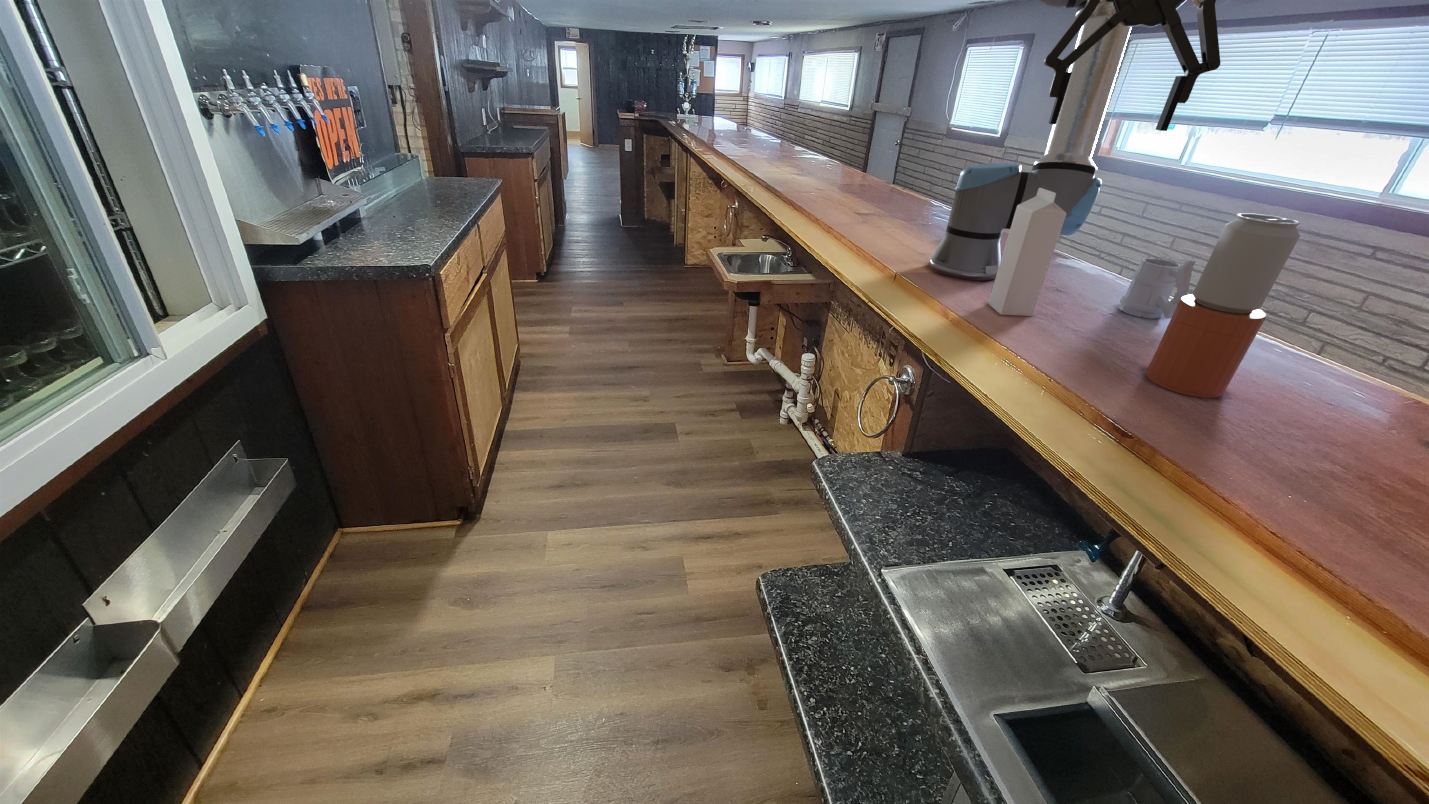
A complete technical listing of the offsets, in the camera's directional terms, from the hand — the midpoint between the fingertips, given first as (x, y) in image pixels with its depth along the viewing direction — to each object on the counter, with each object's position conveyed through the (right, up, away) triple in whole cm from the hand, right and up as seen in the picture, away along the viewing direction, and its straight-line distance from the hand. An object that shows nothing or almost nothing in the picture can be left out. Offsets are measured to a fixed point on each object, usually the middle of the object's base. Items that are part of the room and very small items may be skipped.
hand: (1104, 127), depth 80 cm
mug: (+28, -23, +29) cm, 46 cm away
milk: (+1, -22, +29) cm, 36 cm away
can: (+15, -26, -2) cm, 30 cm away
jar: (+14, -36, +3) cm, 39 cm away
